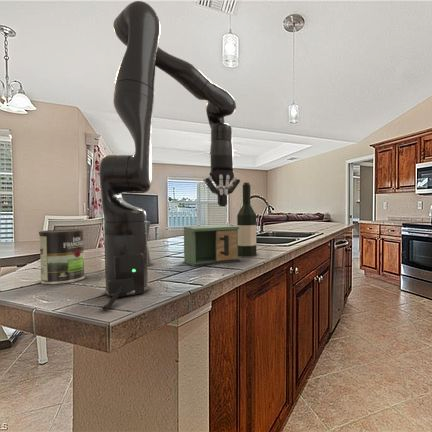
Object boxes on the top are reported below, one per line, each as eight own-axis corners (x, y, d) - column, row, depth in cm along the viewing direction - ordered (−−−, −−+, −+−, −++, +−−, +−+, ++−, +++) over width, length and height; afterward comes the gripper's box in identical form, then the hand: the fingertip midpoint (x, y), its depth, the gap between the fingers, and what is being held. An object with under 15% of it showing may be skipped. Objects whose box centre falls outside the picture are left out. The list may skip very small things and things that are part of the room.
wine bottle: (234, 254, 136) (233, 183, 135) (252, 252, 140) (252, 183, 139) (241, 256, 129) (240, 181, 127) (260, 255, 133) (259, 182, 131)
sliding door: (243, 261, 114) (243, 231, 114) (222, 263, 110) (222, 232, 109) (236, 258, 119) (235, 230, 119) (216, 260, 115) (215, 231, 114)
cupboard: (239, 261, 119) (239, 226, 118) (194, 266, 109) (193, 228, 109) (227, 257, 128) (226, 224, 128) (184, 261, 118) (183, 226, 118)
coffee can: (93, 276, 95) (92, 229, 95) (62, 285, 85) (60, 232, 84) (64, 275, 97) (62, 228, 97) (30, 283, 87) (28, 231, 87)
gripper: (207, 152, 102) (207, 206, 103) (244, 155, 110) (244, 206, 110) (198, 155, 108) (199, 206, 109) (234, 158, 116) (235, 206, 117)
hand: (222, 206), depth 110 cm, fingers closed
